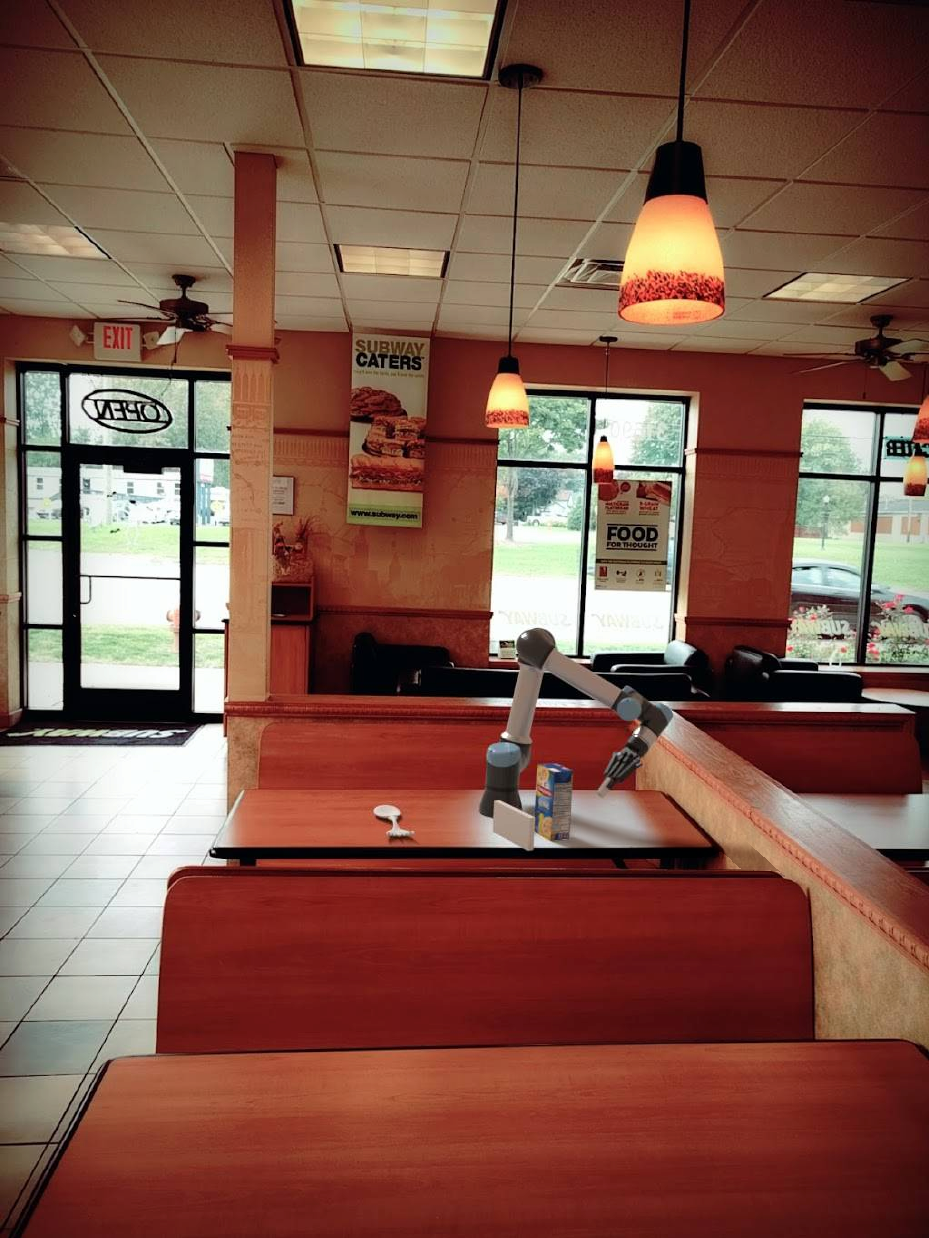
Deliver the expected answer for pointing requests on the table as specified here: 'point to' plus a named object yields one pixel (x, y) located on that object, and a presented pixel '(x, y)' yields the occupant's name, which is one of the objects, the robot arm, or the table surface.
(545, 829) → the beverage box
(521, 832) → the board
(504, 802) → the robot arm
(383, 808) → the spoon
